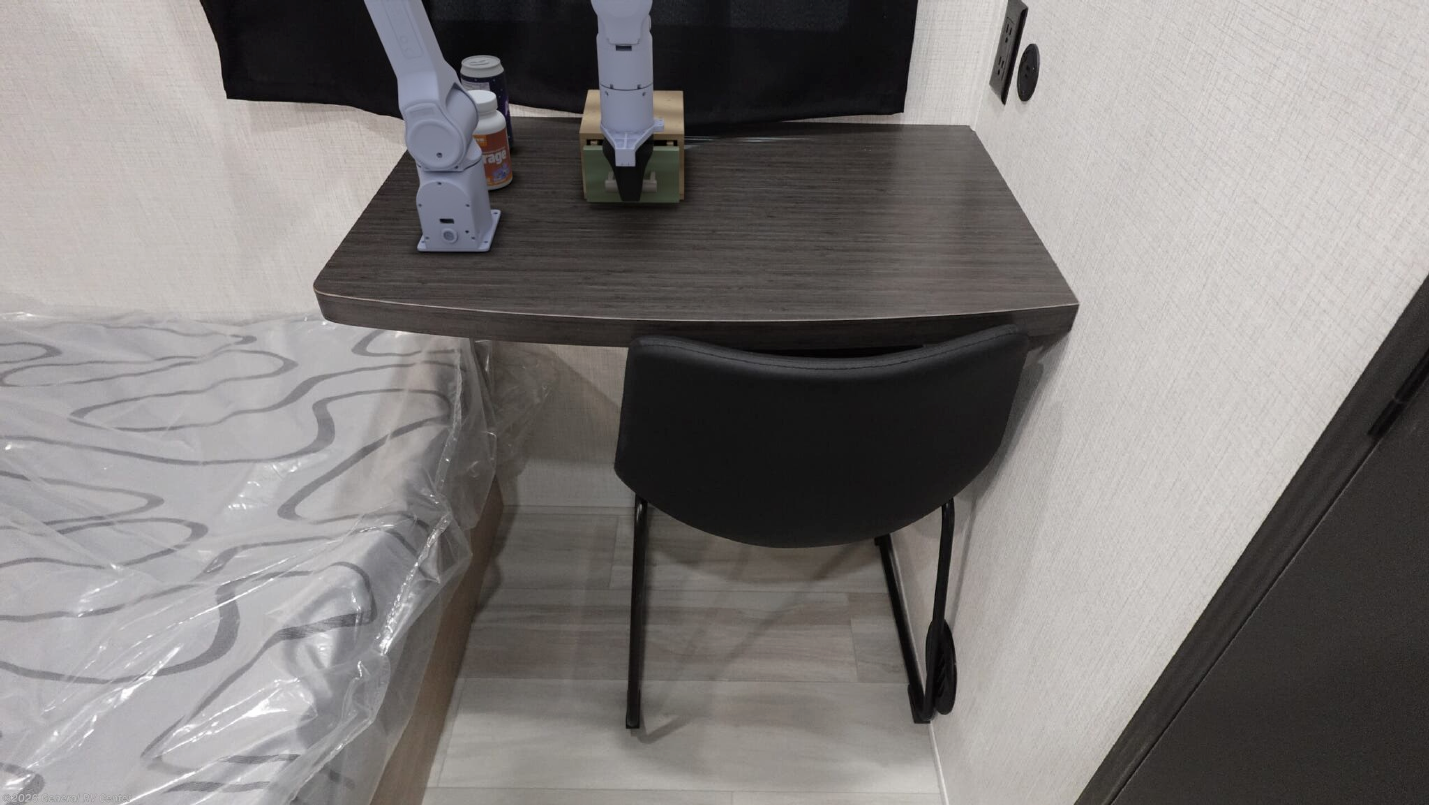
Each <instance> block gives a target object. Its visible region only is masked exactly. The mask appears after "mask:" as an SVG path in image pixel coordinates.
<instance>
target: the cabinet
mask: <svg viewBox="0 0 1429 805" xmlns="http://www.w3.org/2000/svg"><path fill="white" fill-rule="evenodd" d="M653 114H654V118H655V119H663V120H664V131H661V132H654V133H653V134H654V140H673V146H678V147H679V200H684V199H685V121H684V120H685V119H684V115H685V114H684V91H683V90H653ZM600 120H601V105H600V89H588V90H587V94H586V100H585V103H584V109H583V114H582V118H581V123H580V128H579V133H578V134H579V144H580V145H579V147H580V149H579V150H580V159H581V160H580V161H581V172H582V173H581V174H582V186H583V197H584V200H587V195H586V182H585V169H584V156H583V147H584V146H591V139H604V135H603V133H602V132H601V130H600Z"/></svg>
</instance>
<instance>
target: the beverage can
mask: <svg viewBox="0 0 1429 805" xmlns="http://www.w3.org/2000/svg"><path fill="white" fill-rule="evenodd" d="M459 73H460V80H461V85H462V86H463V87H464V89H465V90H466V91H470V90H486V91H490V92H493V93H494V94H495V95H496V99H497V109H496V110H497V111H499V112H500V113H502V115H503V116H504V118H505V121H506V128H507V136H508V144H509V150H510V149H511V148H512V147H513V146H514V142H515V140H514V133H513V125H512V118H511V110H510V109H511V108H510V102H509V95H508V94H509V93H508V87H507V78H506V71H505V69H504V67H503V66H502V64H501V59H500V58H498V57H497V56H493V55H481V54H480V55H473V56H469V57H465V58H464V59H462V60H461V68H460V71H459Z"/></svg>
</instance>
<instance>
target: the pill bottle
mask: <svg viewBox="0 0 1429 805" xmlns="http://www.w3.org/2000/svg"><path fill="white" fill-rule="evenodd" d="M467 92H468V93H469V94H470V95H471V96H472V97H473V98H474V100H475V102H476V103H477V106H478V109H479V122H478V125H477V127H476V129H475V130H474V132H473V133H472V134H473V137H474V139H475V141H476V142H477V144H478V145H479V147H480V148H481V151H482V157H483V163H484V170H485V176H486V182H487V189H488V191H494V190H498V189H499V190H500V189H502V188H504V187H506V186H508V185H509V184H510V183H511V182H512V181H513V168H512V161H511V154H510V153H511V152H510V149H509V144H508V136H507V128H506V121H505V118H504V116H503V115H502V113H500V112H499V111H497V110H496V109H497V99H496V95H495V94H494V93H493V92H490V91H486V90H470V91H467Z"/></svg>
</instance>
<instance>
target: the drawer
mask: <svg viewBox="0 0 1429 805" xmlns="http://www.w3.org/2000/svg"><path fill="white" fill-rule="evenodd" d="M603 141H604V139H591V146H584V147H583V156H584V169H585V182H586V195H587V199H586V202H587V203H624V202H623V201H622V200H621V198H620V194H619V191H618V187H617V183H616V179H615V175H614V173H613V170H612V168H611V165H610V164H609V162H608V160H607V159H606V157H605V156H604V153H603V150H602V145H603ZM638 203H668V204H669V203H670V204H671V203H673V204H674V203H675V204H676V203H680V199H679V147H678V146H673V140H654V148H653V153H652V155H651V158H650V159H649V161H648V164H647V166H646V169H645V173H644V178H643V186H642V193H641V197H640V201H639V202H638Z"/></svg>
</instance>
